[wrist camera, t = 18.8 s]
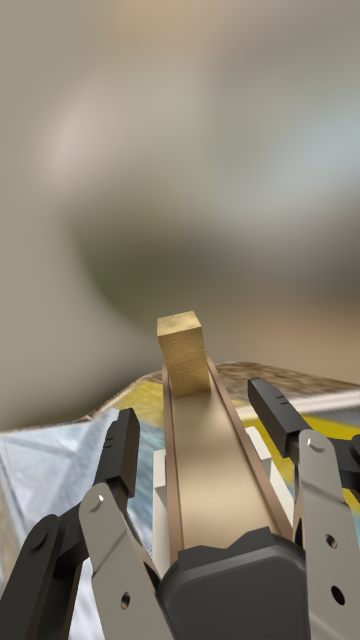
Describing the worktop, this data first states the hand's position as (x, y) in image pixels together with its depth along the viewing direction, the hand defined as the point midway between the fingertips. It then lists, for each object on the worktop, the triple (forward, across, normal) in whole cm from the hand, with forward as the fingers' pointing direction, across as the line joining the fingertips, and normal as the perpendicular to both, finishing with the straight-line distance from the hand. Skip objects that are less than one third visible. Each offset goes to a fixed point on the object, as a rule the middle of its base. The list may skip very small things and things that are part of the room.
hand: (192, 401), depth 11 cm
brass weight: (+11, 0, +9) cm, 14 cm away
